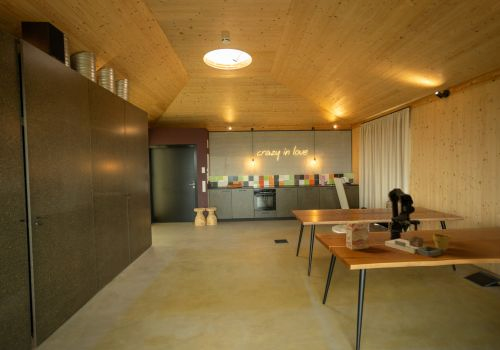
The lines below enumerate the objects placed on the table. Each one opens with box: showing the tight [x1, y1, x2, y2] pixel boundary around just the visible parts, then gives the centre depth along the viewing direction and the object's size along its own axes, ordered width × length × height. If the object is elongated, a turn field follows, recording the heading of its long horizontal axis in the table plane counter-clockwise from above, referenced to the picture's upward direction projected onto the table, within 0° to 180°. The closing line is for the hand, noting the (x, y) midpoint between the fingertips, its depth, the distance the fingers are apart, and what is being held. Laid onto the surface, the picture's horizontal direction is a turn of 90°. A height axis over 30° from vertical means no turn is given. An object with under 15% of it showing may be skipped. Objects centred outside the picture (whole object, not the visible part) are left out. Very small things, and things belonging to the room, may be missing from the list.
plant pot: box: [432, 233, 452, 251], centre depth 189 cm, size 10×10×10 cm
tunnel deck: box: [384, 238, 443, 258], centre depth 189 cm, size 32×18×6 cm, turn 27°
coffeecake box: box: [345, 220, 370, 251], centre depth 194 cm, size 15×7×20 cm, turn 105°
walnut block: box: [408, 235, 424, 248], centre depth 187 cm, size 6×6×6 cm
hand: (405, 232), depth 194 cm, fingers closed
